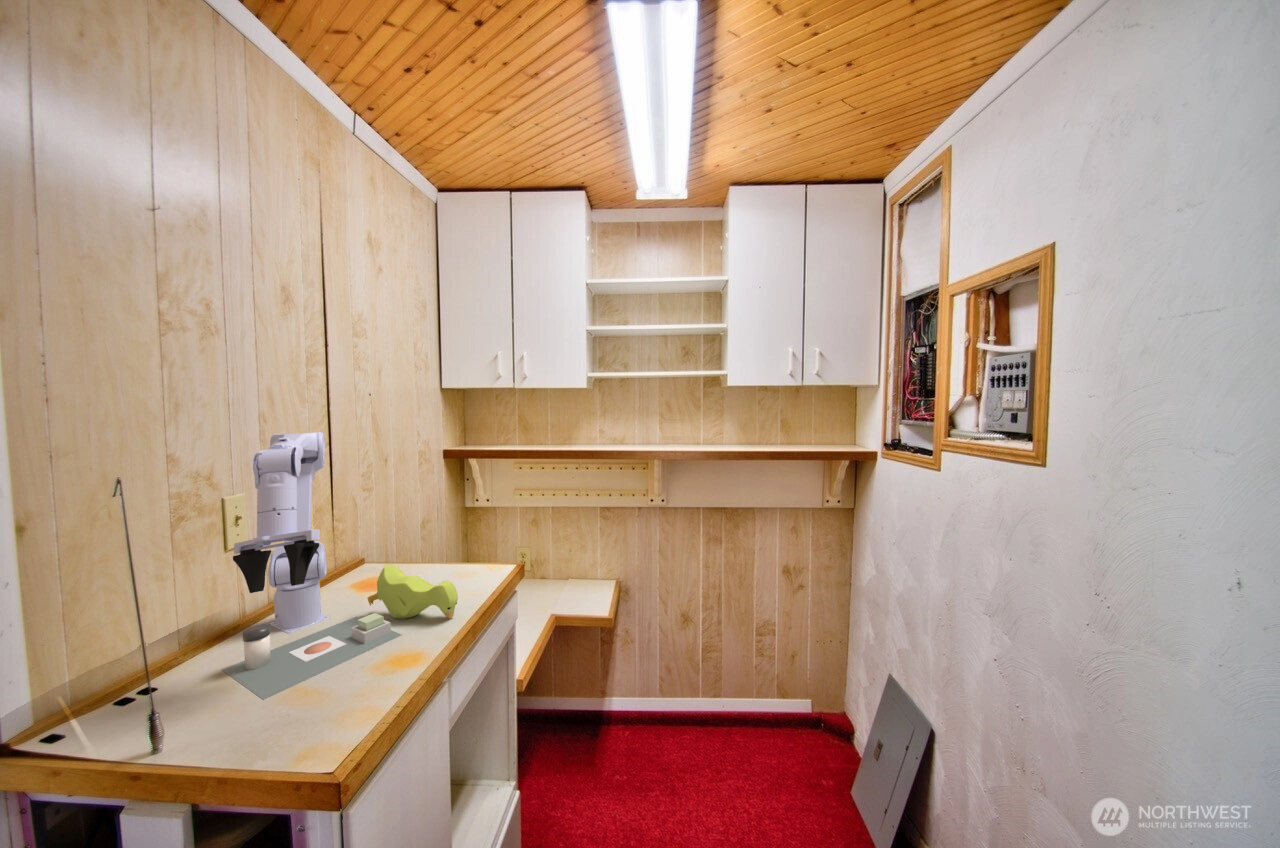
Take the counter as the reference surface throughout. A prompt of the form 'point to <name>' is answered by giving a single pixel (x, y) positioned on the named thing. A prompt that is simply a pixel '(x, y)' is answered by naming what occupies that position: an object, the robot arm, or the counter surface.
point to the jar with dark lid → (257, 646)
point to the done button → (370, 622)
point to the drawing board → (310, 656)
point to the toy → (412, 594)
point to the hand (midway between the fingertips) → (277, 588)
